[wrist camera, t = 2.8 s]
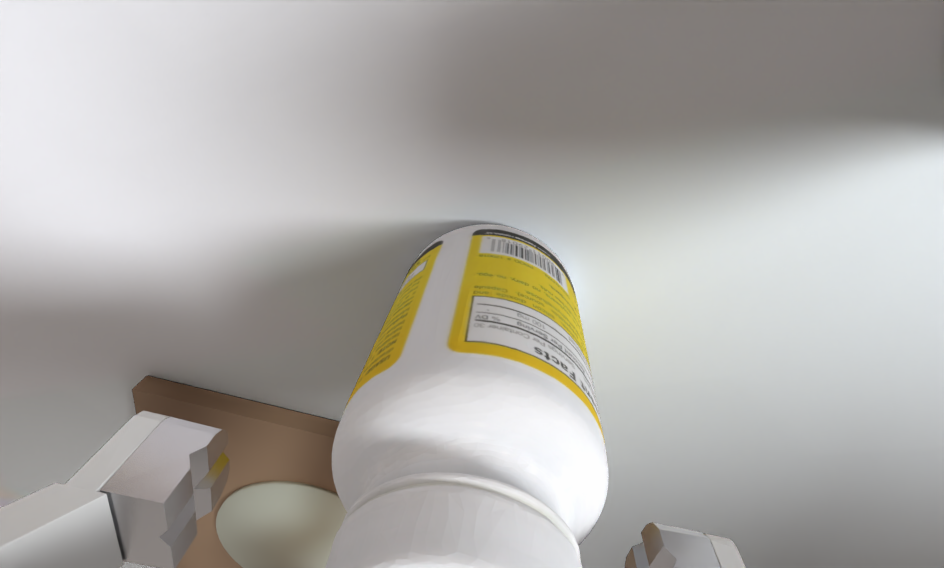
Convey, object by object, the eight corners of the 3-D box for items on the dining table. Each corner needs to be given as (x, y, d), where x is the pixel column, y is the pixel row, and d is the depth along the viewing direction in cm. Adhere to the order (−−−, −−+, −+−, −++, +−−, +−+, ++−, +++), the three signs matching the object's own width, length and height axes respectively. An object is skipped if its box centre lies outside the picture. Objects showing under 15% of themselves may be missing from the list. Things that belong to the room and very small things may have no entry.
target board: (497, 460, 19) (495, 481, 18) (433, 634, 25) (430, 656, 24) (146, 375, 18) (127, 392, 17) (176, 574, 25) (164, 594, 24)
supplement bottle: (436, 377, 17) (344, 733, 8) (383, 241, 15) (178, 542, 6) (589, 352, 16) (663, 736, 7) (557, 200, 13) (610, 502, 5)
